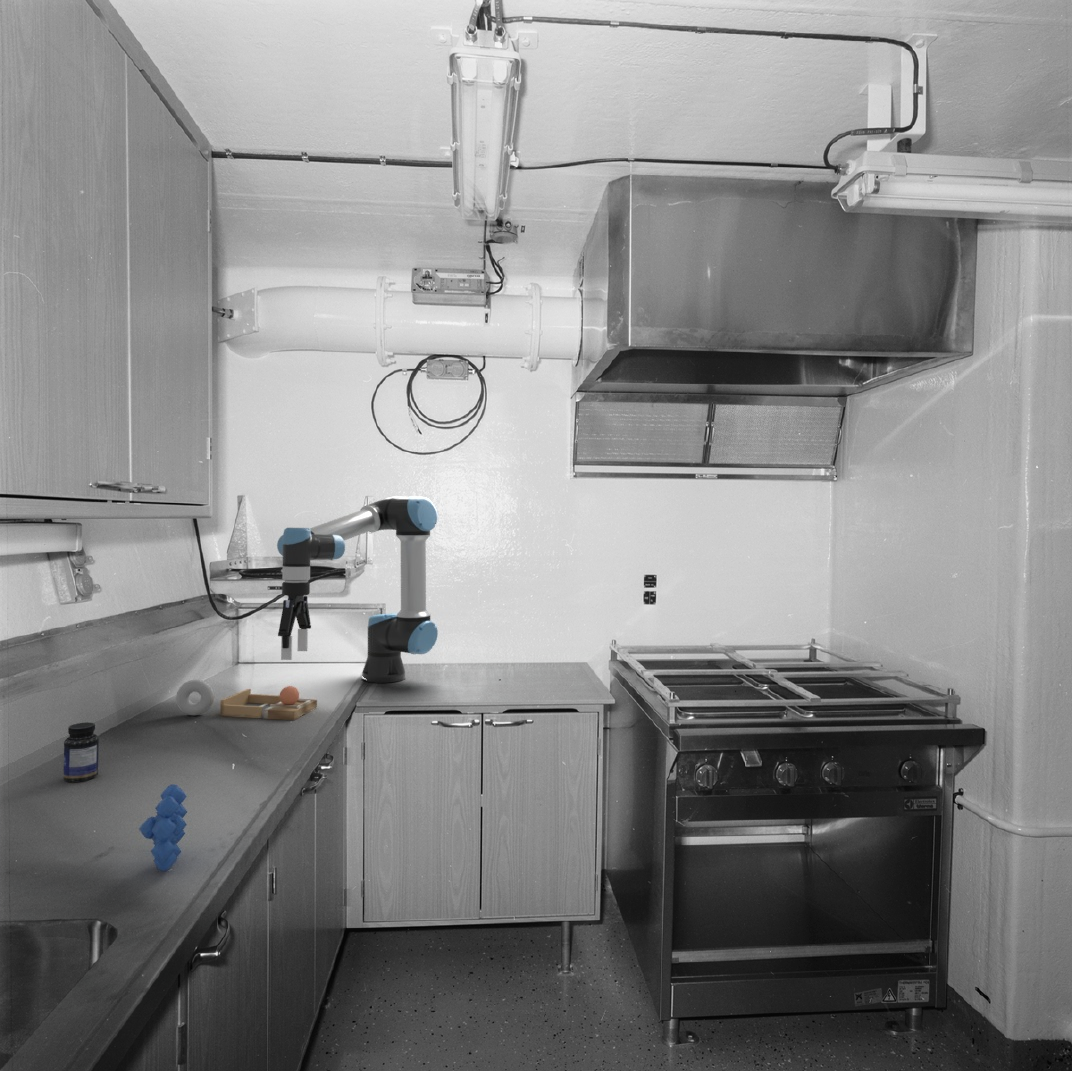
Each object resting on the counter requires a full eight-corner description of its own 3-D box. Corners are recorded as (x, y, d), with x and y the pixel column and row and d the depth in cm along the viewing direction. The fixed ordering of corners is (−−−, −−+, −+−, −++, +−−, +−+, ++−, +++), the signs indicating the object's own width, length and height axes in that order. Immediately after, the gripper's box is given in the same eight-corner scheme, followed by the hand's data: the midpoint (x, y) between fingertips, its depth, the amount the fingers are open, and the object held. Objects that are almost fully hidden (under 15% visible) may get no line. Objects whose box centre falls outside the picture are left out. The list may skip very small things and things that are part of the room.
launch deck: (288, 706, 208) (288, 695, 208) (316, 707, 206) (316, 697, 206) (263, 718, 194) (263, 707, 194) (294, 720, 192) (294, 709, 192)
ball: (286, 698, 203) (283, 682, 201) (303, 699, 202) (301, 683, 200) (277, 708, 198) (274, 691, 196) (295, 709, 197) (292, 693, 195)
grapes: (148, 849, 114) (149, 776, 114) (193, 845, 116) (194, 773, 116) (127, 884, 103) (129, 804, 103) (178, 879, 105) (179, 800, 105)
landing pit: (247, 703, 209) (247, 689, 209) (288, 706, 208) (288, 691, 208) (220, 715, 195) (220, 700, 195) (263, 718, 194) (263, 702, 194)
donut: (215, 713, 198) (216, 678, 198) (211, 716, 194) (212, 680, 194) (178, 713, 196) (178, 678, 196) (173, 717, 193) (174, 681, 193)
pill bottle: (67, 774, 148) (68, 722, 148) (101, 771, 150) (102, 720, 150) (59, 784, 142) (60, 730, 142) (94, 781, 144) (95, 728, 144)
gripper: (297, 577, 212) (296, 647, 212) (266, 584, 187) (265, 663, 187) (322, 578, 212) (320, 648, 212) (294, 584, 187) (293, 663, 187)
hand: (294, 655), depth 200 cm, fingers open, 13 cm apart
